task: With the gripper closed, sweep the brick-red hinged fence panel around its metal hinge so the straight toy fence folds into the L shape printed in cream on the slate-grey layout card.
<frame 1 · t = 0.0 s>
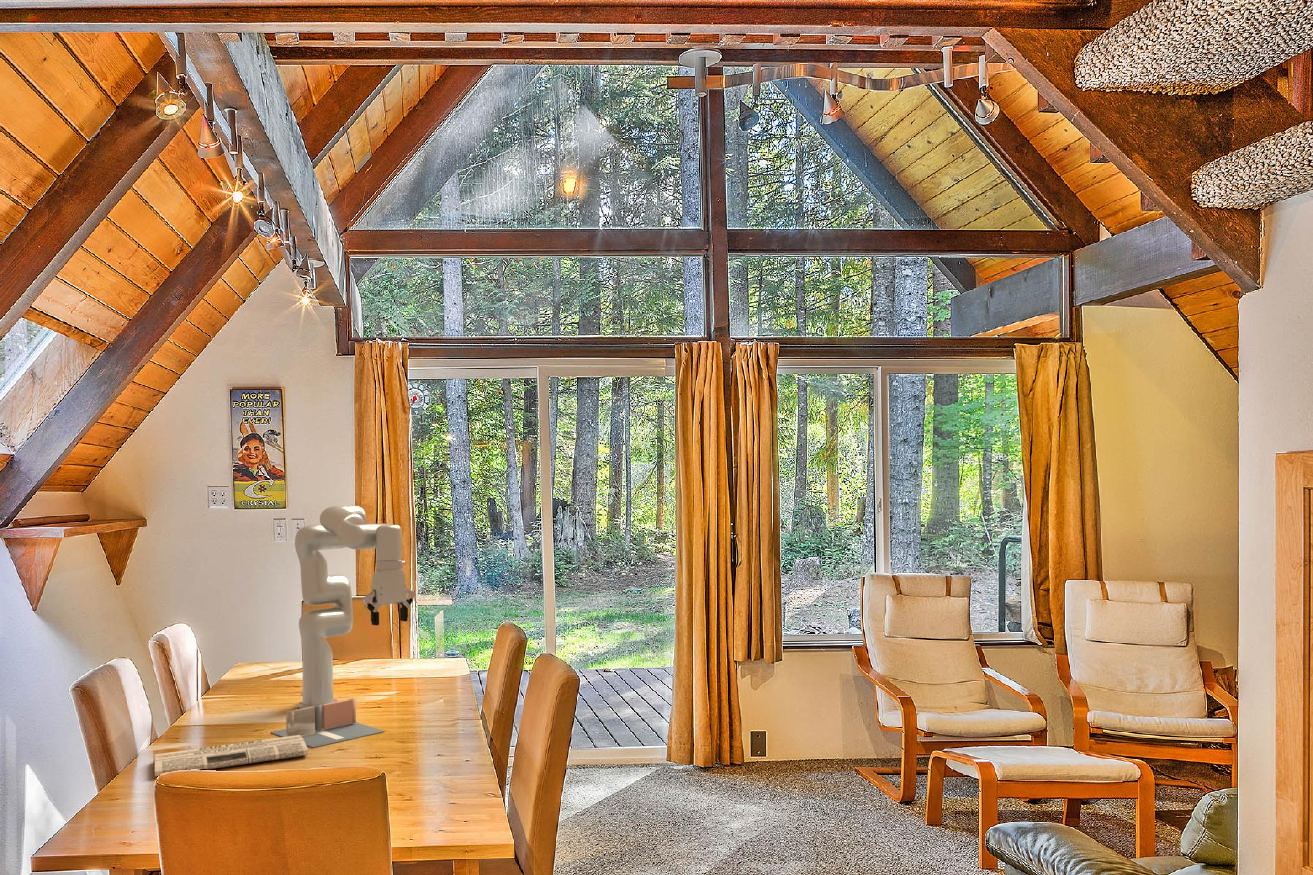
hand: (389, 623, 301), 31 cm above the table, tool pointing down, fingers open, 9 cm apart
fence fixed: (300, 722, 292), on the layout card
fence panel: (335, 714, 300), point 4 cm above the table, hinge at 0.0°
newspaper: (231, 759, 270), on the table, touching layout card
layout card: (318, 732, 296), on the table
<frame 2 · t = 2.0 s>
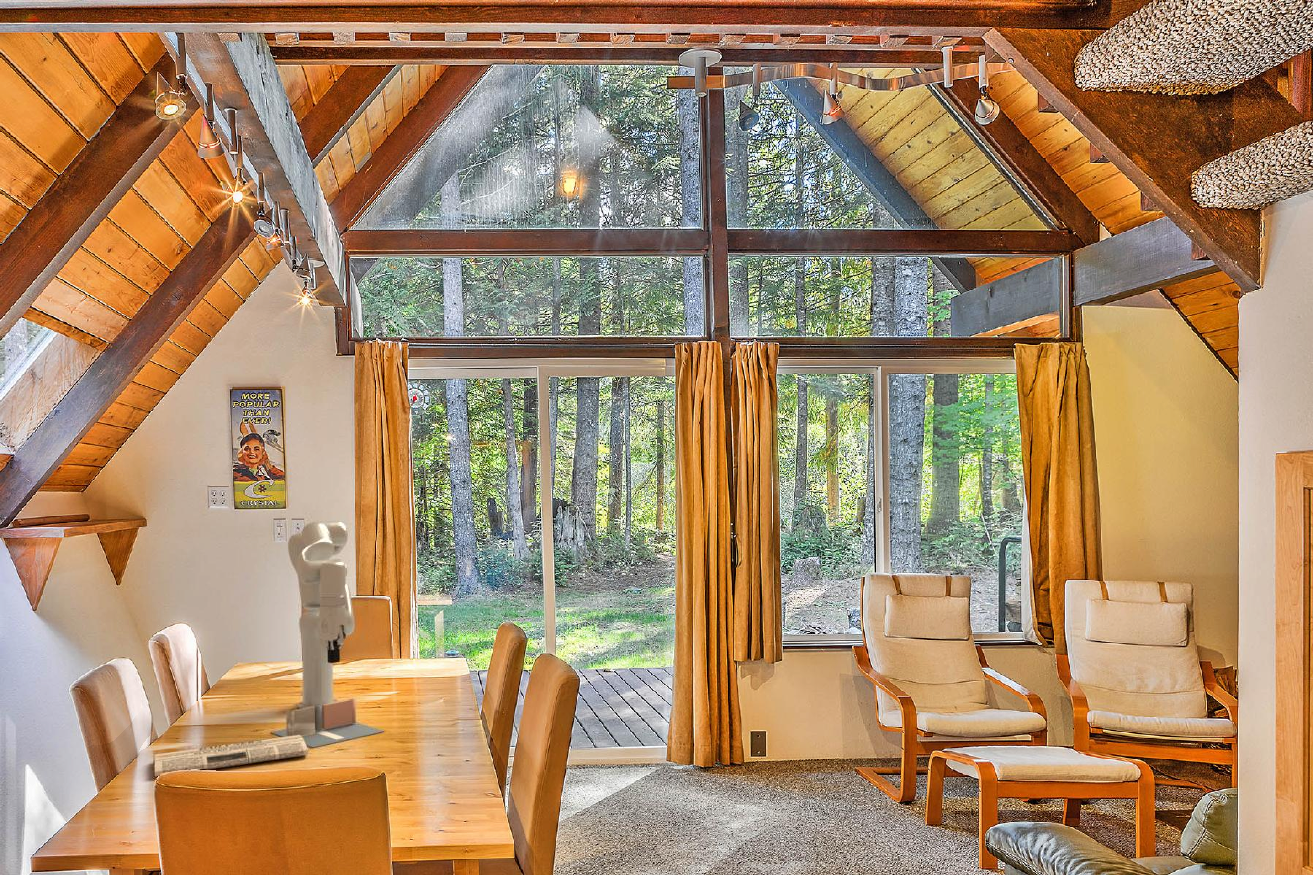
hand: (333, 662, 306), 19 cm above the table, tool pointing down, fingers closed
nothing on the table moved.
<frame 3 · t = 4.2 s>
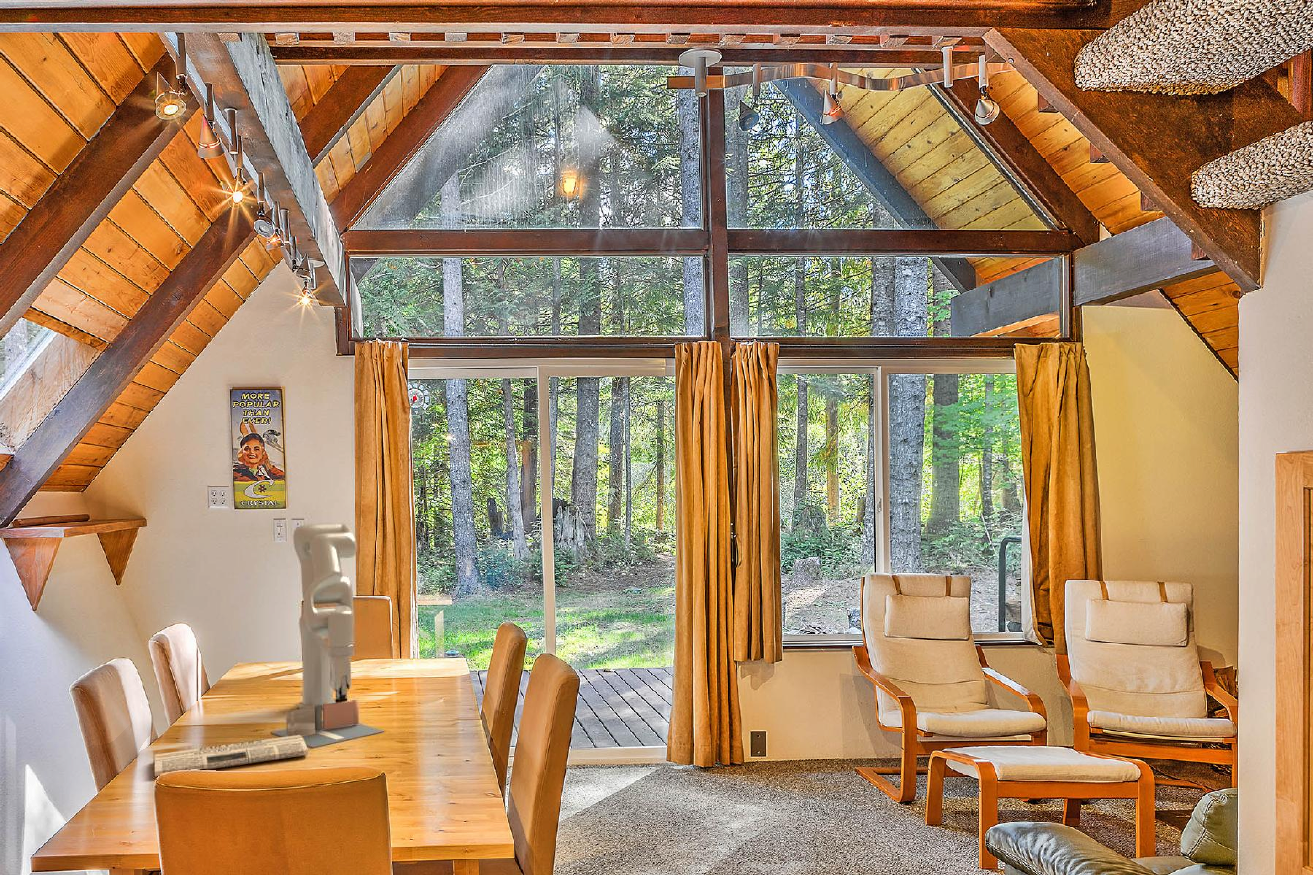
hand: (341, 711, 304), 4 cm above the table, tool pointing down, fingers closed
fence panel: (336, 715, 300), point 4 cm above the table, hinge at 10.5°, touching gripper
everything else where it was.
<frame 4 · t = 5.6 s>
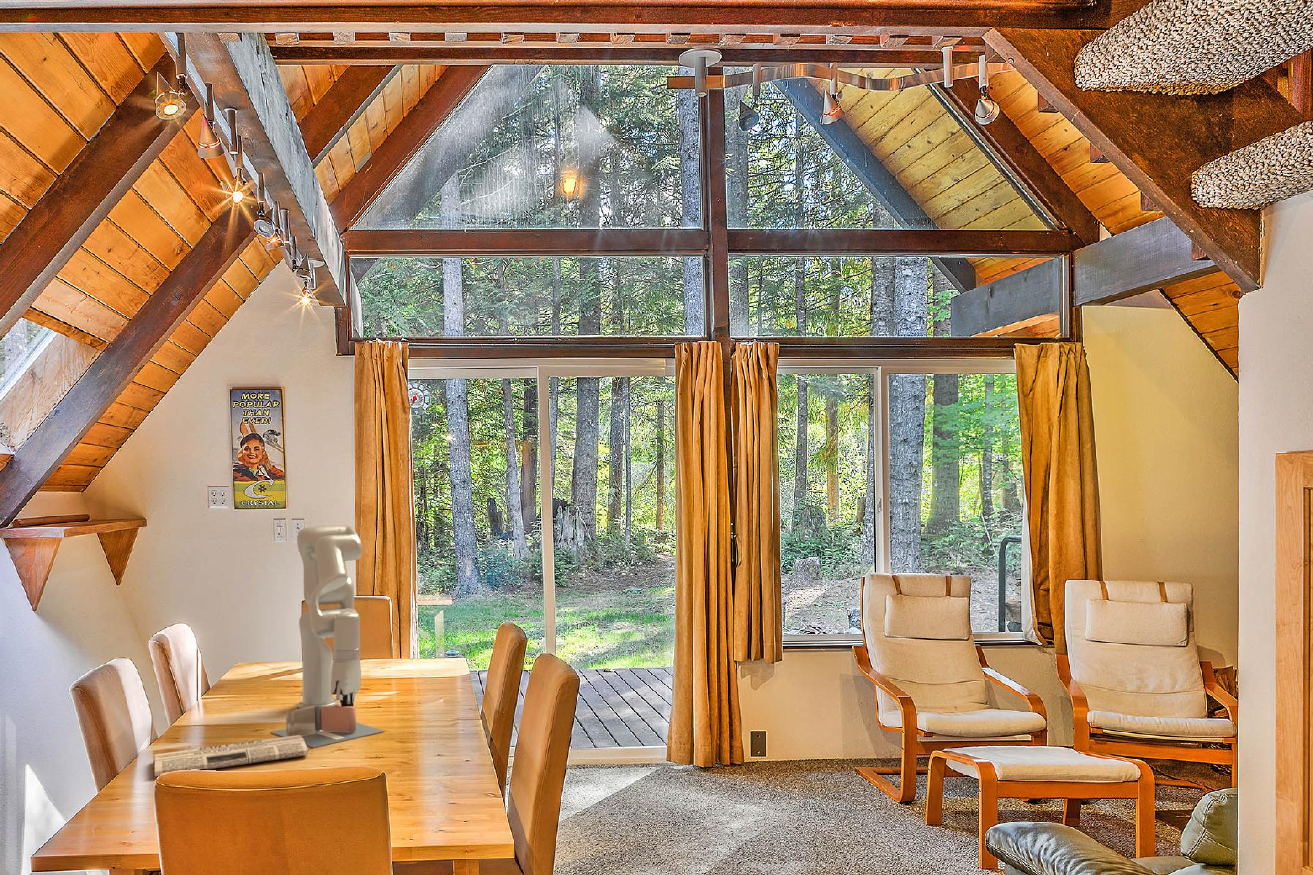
hand: (347, 716, 298), 4 cm above the table, tool pointing down, fingers closed
fence panel: (335, 718, 295), point 4 cm above the table, hinge at 58.8°, touching gripper
everything else where it was.
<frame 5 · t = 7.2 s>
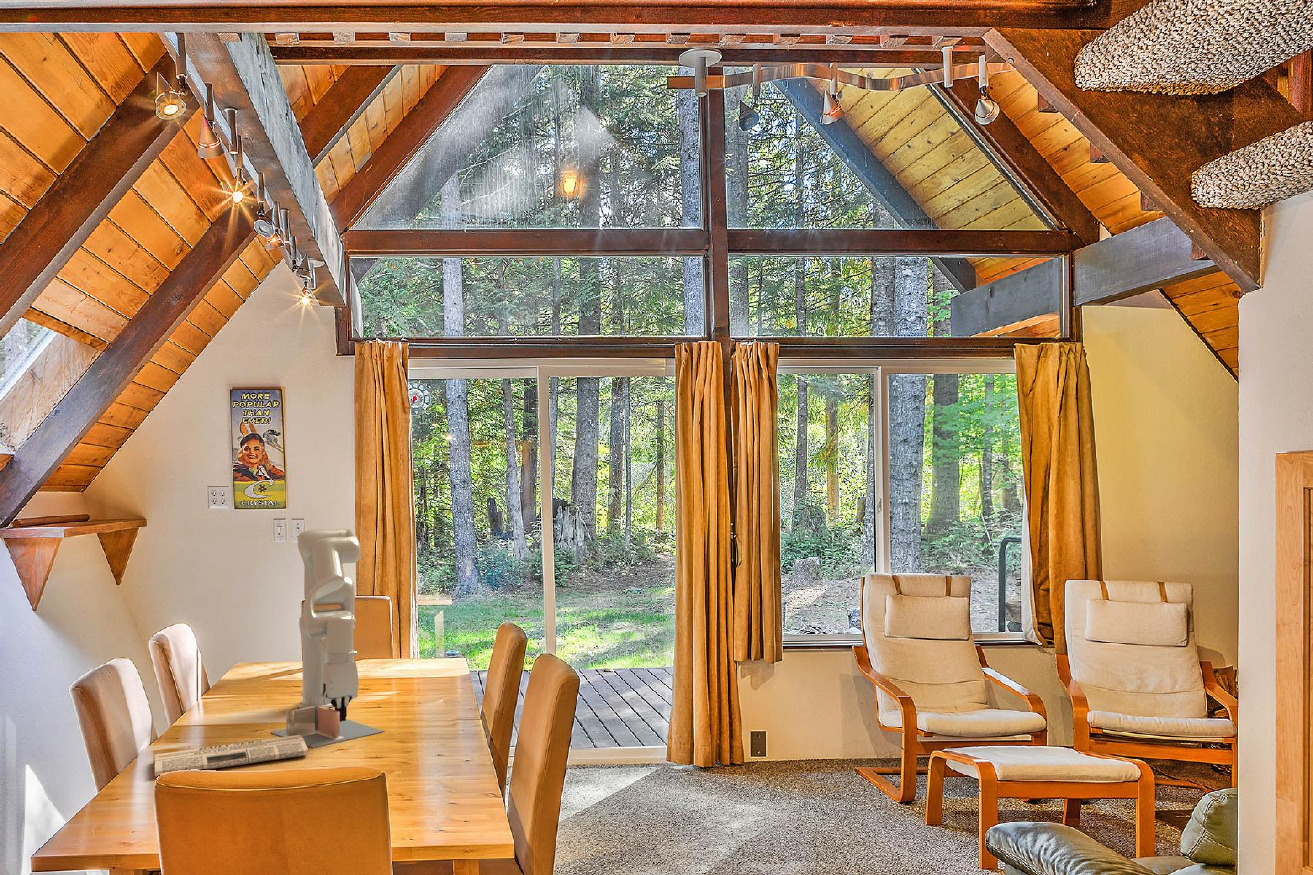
hand: (340, 720, 293), 4 cm above the table, tool pointing down, fingers closed
fence panel: (327, 720, 292), point 4 cm above the table, hinge at 91.6°, touching gripper
everything else where it was.
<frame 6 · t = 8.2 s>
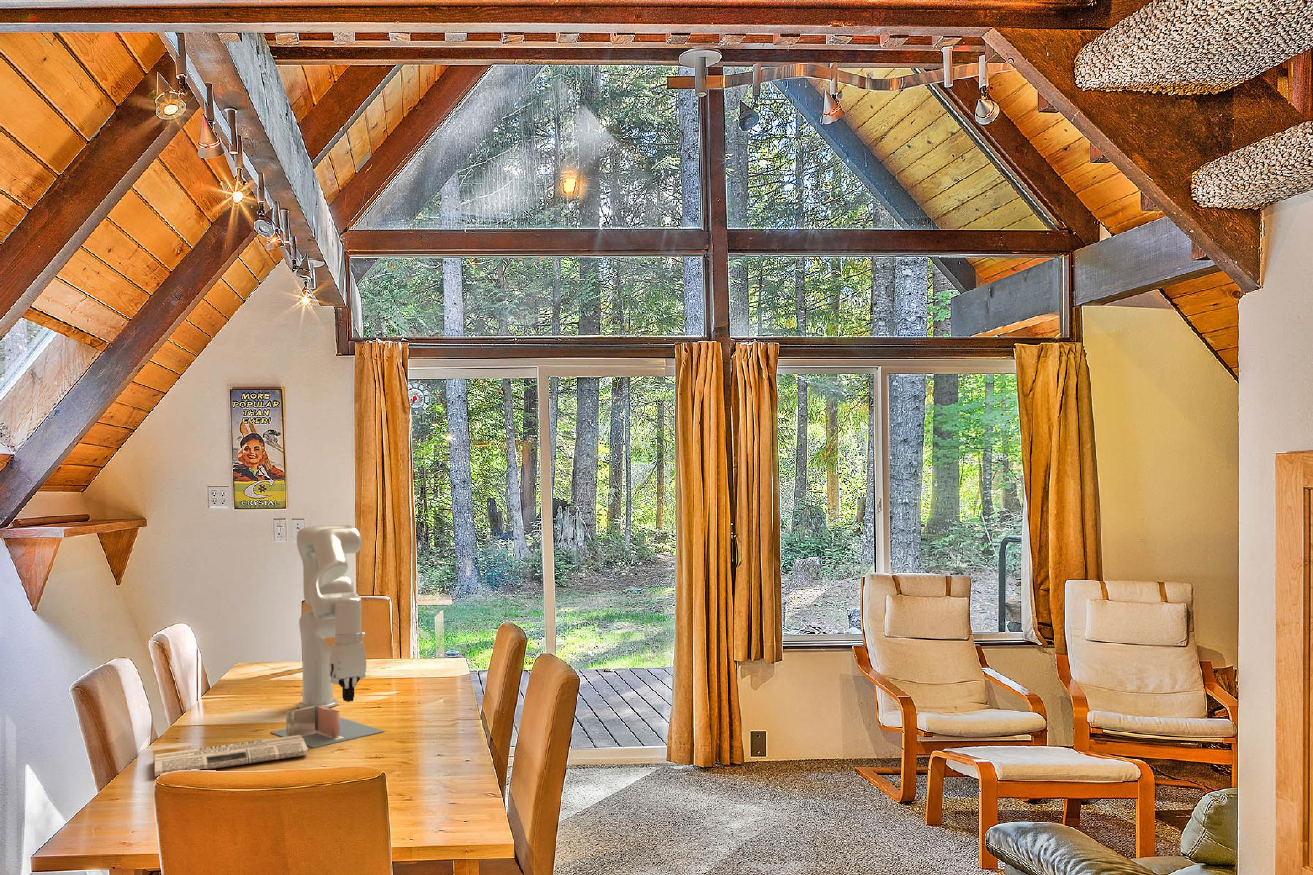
hand: (348, 700, 296), 9 cm above the table, tool pointing down, fingers closed
fence panel: (327, 720, 292), point 4 cm above the table, hinge at 91.8°
everything else where it was.
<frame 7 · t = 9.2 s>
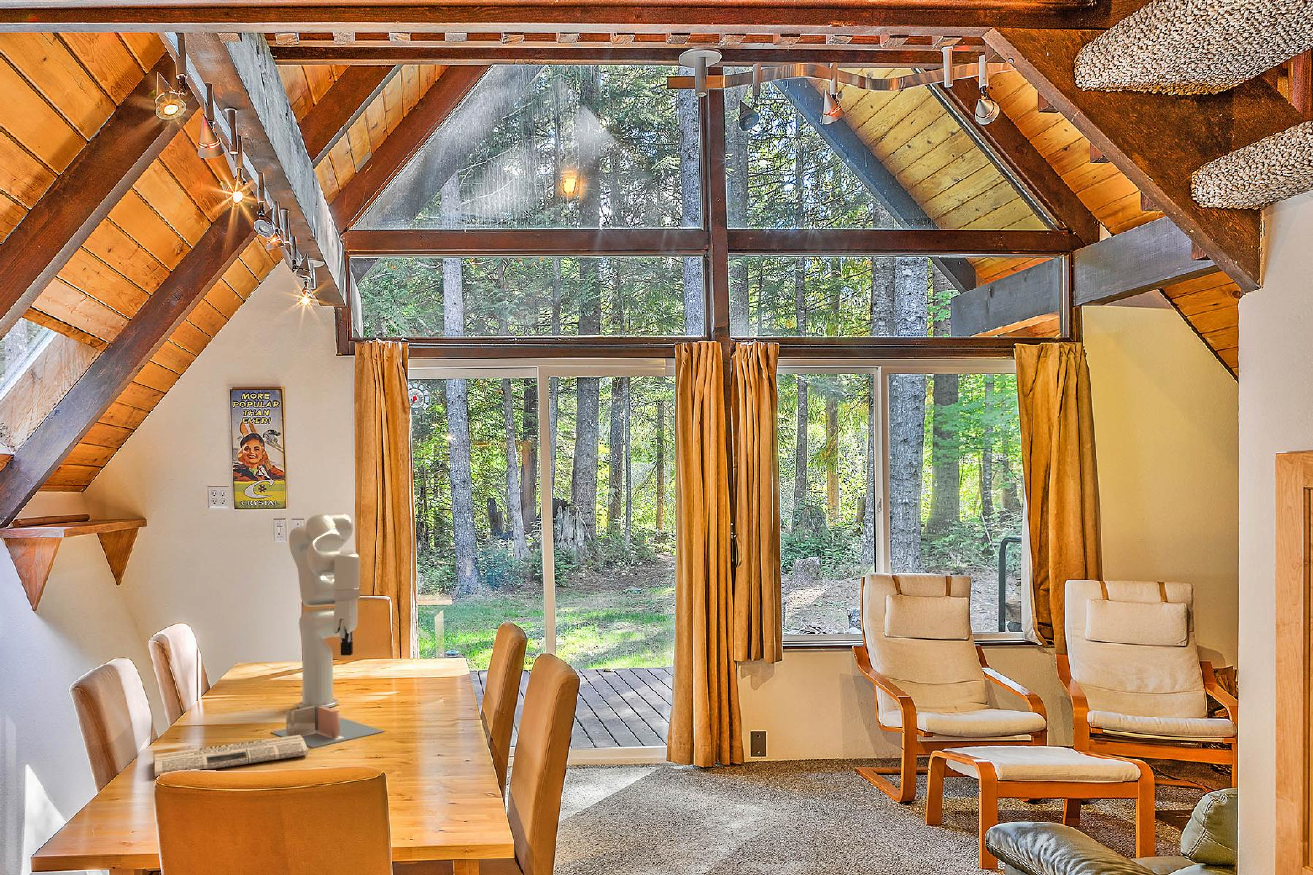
hand: (346, 654, 303), 22 cm above the table, tool pointing down, fingers closed
nothing on the table moved.
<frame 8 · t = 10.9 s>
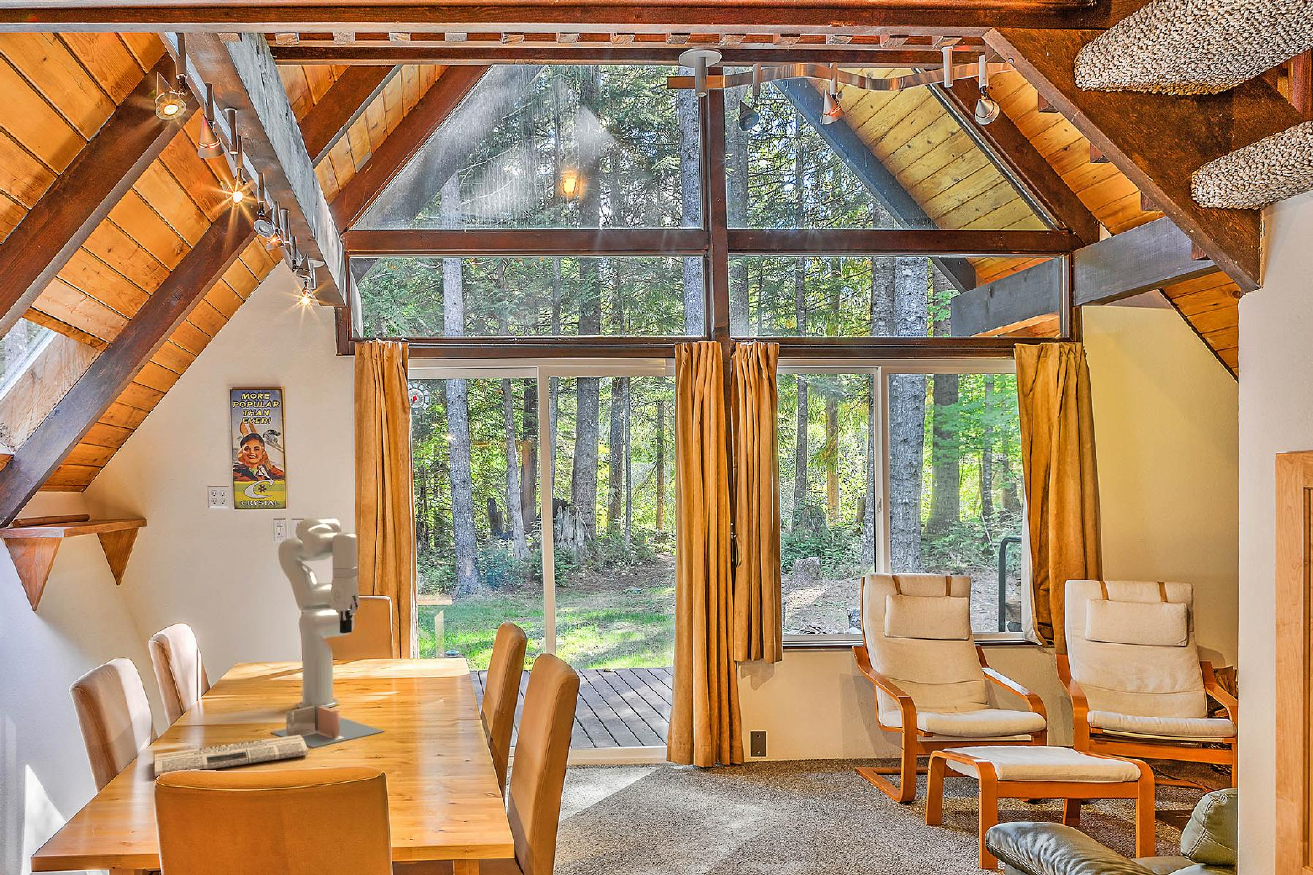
hand: (345, 632, 311), 27 cm above the table, tool pointing down, fingers closed
nothing on the table moved.
at the end: fence panel at +92° (first picture: +0°) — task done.
